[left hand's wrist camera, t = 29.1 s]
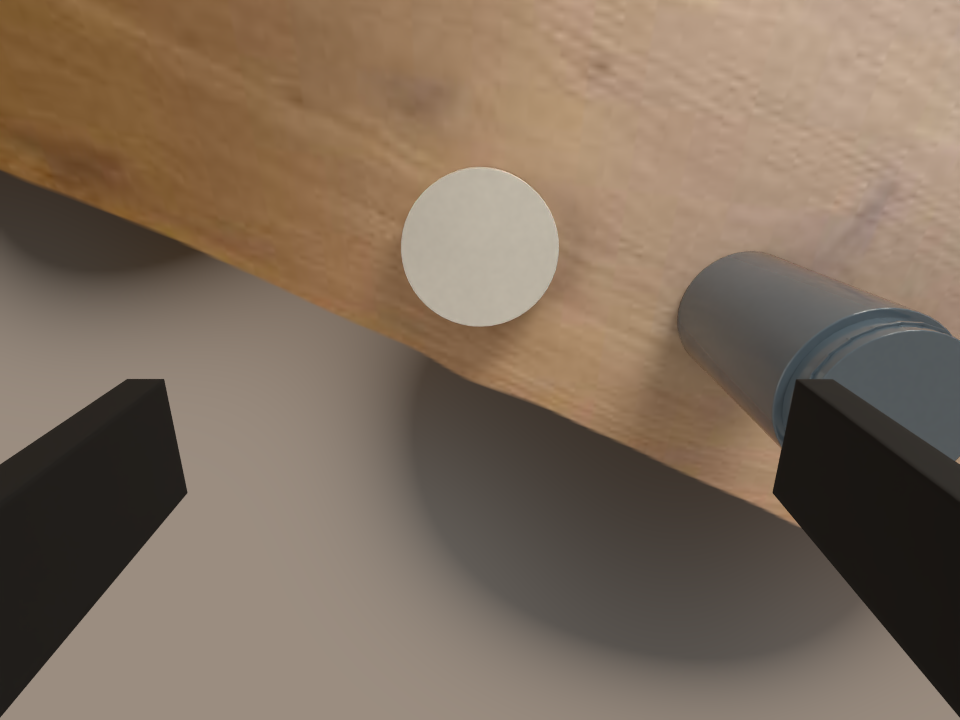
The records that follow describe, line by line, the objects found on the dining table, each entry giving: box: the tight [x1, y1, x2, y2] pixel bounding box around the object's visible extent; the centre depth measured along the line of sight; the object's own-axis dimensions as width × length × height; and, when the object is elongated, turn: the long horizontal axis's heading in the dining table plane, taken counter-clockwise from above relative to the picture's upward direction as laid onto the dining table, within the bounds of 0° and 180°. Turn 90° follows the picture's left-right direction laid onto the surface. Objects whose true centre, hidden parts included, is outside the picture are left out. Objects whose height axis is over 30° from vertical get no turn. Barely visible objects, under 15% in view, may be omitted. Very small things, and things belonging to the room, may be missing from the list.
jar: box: [678, 252, 960, 461], centre depth 31 cm, size 8×8×15 cm
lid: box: [401, 167, 559, 327], centre depth 36 cm, size 9×9×2 cm
